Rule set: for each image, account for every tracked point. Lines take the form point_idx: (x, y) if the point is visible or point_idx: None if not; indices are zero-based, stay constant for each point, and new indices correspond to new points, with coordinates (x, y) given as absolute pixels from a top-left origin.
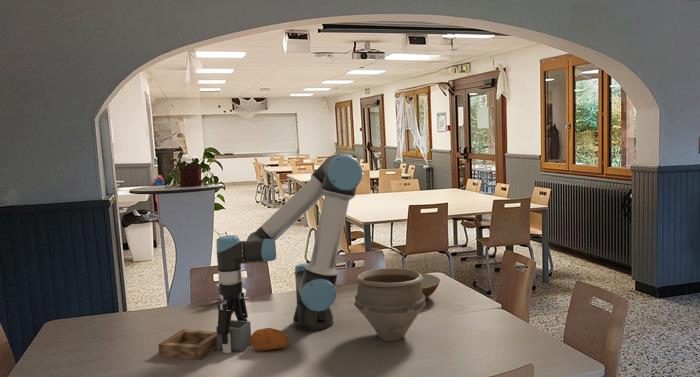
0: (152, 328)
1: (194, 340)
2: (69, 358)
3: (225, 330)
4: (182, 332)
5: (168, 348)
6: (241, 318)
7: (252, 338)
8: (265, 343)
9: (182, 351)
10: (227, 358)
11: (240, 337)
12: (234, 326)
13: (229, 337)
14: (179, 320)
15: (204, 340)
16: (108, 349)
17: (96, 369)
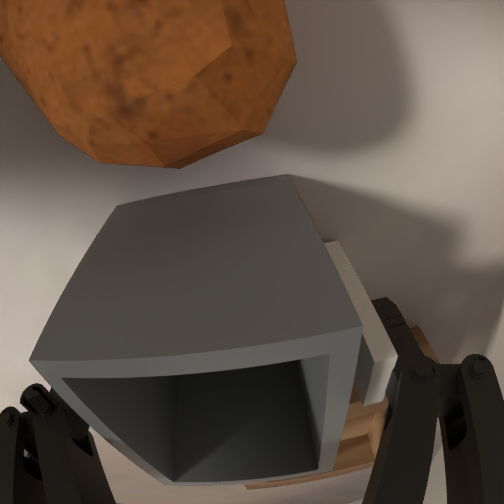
0: (209, 496)
1: None
2: None
3: (471, 390)
4: (275, 482)
5: None
6: (73, 446)
7: (281, 81)
8: None
9: None
10: (404, 211)
11: (321, 247)
12: (151, 416)
13: (379, 328)
14: (137, 486)
15: (350, 416)
16: (342, 482)
17: (439, 439)
